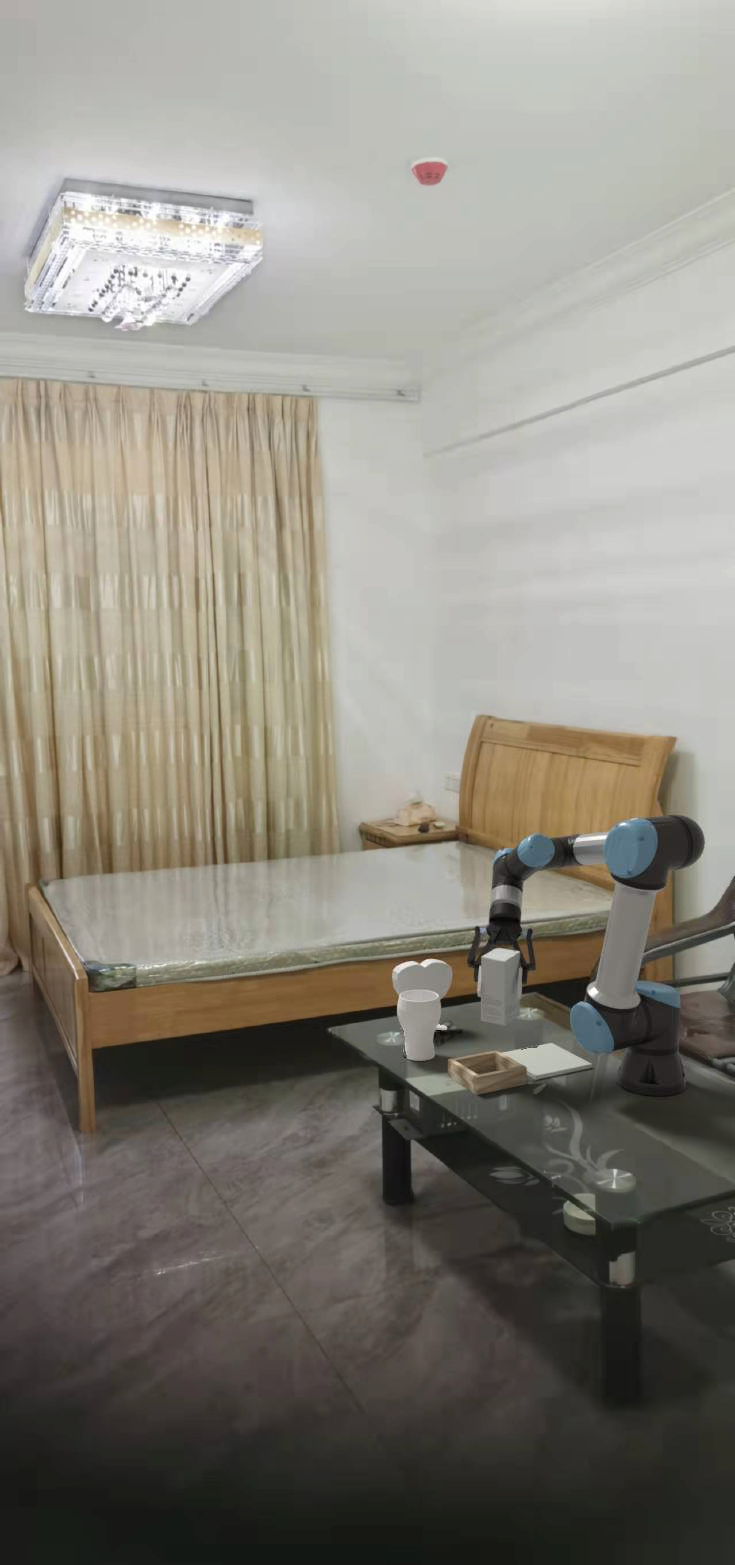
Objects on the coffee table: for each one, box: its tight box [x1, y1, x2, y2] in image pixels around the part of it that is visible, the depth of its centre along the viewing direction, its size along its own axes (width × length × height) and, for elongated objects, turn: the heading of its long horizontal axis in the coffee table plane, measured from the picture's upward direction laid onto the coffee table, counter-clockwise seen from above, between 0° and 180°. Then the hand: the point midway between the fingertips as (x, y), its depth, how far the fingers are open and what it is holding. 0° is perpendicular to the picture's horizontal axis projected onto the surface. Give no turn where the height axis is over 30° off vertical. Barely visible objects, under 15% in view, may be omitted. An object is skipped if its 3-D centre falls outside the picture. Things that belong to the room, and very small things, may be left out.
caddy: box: [447, 1049, 528, 1096], centre depth 268 cm, size 12×13×4 cm
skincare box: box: [480, 947, 521, 1027], centre depth 269 cm, size 8×7×16 cm
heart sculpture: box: [391, 958, 453, 1031], centre depth 302 cm, size 16×5×18 cm, turn 111°
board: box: [502, 1042, 593, 1081], centre depth 279 cm, size 16×16×1 cm
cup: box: [396, 990, 442, 1062], centre depth 283 cm, size 11×11×15 cm
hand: (499, 995), depth 266 cm, fingers closed on skincare box, 8 cm apart
